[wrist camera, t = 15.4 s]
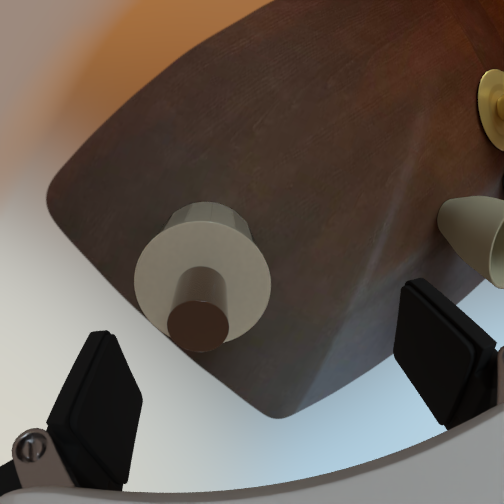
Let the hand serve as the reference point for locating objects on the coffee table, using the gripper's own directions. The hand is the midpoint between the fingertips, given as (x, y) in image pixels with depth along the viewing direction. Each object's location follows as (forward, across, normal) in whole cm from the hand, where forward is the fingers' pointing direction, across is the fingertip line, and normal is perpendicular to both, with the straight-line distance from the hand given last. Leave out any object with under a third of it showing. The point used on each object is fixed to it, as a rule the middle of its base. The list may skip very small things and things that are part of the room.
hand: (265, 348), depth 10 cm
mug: (+24, -28, +6) cm, 37 cm away
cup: (+24, -39, -9) cm, 46 cm away
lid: (+15, +4, +5) cm, 16 cm away
